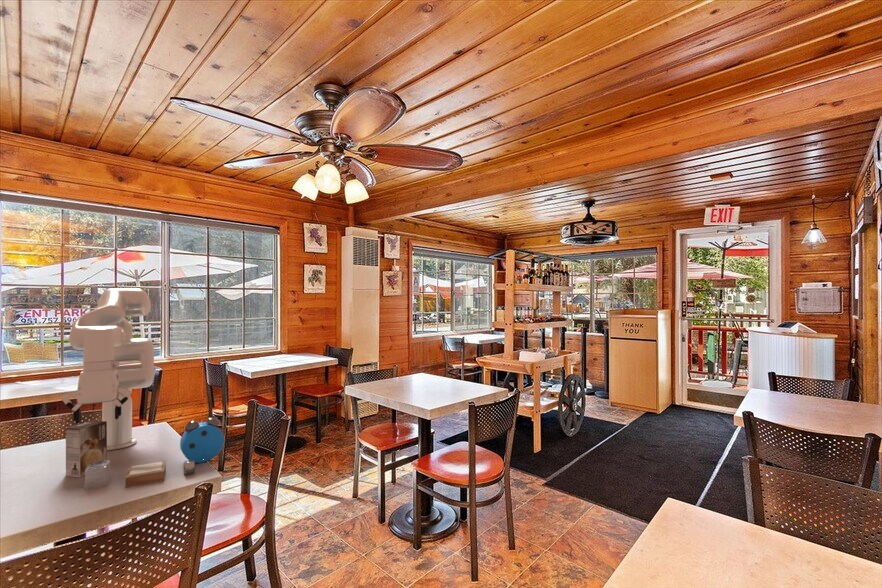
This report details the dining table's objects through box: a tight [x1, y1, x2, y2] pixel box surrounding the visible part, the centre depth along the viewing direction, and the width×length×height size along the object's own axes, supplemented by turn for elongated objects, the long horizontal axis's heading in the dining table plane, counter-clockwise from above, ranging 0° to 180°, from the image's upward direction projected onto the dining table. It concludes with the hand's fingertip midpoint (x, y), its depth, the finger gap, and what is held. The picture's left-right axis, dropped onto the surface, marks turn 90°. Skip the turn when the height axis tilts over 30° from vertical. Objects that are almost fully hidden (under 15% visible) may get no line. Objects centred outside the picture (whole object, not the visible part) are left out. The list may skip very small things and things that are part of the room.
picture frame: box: [124, 460, 167, 488], centre depth 137 cm, size 10×10×3 cm
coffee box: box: [65, 420, 108, 478], centre depth 143 cm, size 9×6×16 cm
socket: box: [183, 459, 196, 477], centre depth 141 cm, size 3×3×4 cm
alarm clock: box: [179, 416, 225, 464], centre depth 152 cm, size 13×6×15 cm, turn 131°
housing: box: [84, 459, 110, 491], centre depth 133 cm, size 5×7×6 cm
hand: (98, 420), depth 133 cm, fingers open, 9 cm apart
